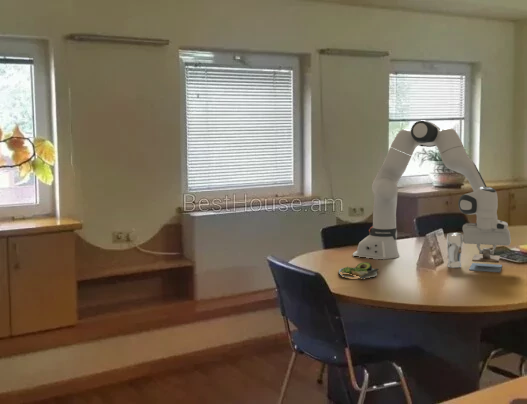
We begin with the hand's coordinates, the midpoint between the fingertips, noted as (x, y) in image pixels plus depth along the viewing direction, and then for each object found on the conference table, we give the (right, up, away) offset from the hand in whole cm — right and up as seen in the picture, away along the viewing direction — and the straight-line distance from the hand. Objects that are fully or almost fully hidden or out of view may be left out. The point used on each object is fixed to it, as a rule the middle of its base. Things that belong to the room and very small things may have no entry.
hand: (486, 254), depth 299 cm
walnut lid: (0, -2, 0) cm, 2 cm away
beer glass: (-13, -6, +5) cm, 15 cm away
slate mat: (0, -6, +1) cm, 6 cm away
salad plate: (-58, -9, -6) cm, 59 cm away
